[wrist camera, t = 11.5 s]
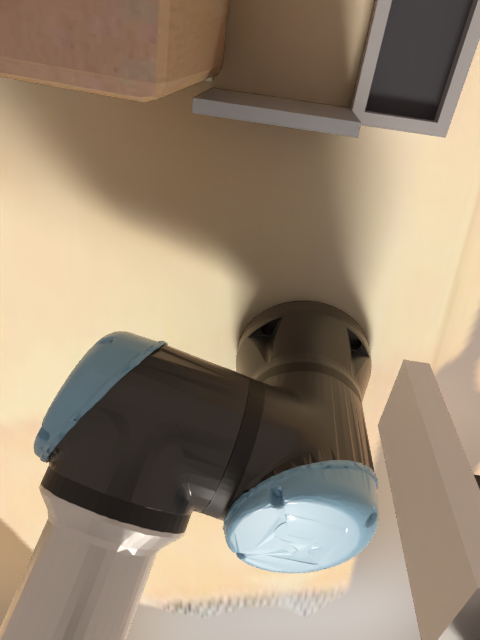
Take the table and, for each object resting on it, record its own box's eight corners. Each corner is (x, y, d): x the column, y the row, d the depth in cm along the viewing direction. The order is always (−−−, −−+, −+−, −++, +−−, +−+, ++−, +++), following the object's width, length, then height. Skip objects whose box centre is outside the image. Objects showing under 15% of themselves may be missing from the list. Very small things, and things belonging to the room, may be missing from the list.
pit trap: (440, 134, 38) (445, 137, 37) (347, 120, 39) (349, 123, 37) (526, -121, 30) (536, -128, 29) (406, -136, 30) (411, -143, 29)
